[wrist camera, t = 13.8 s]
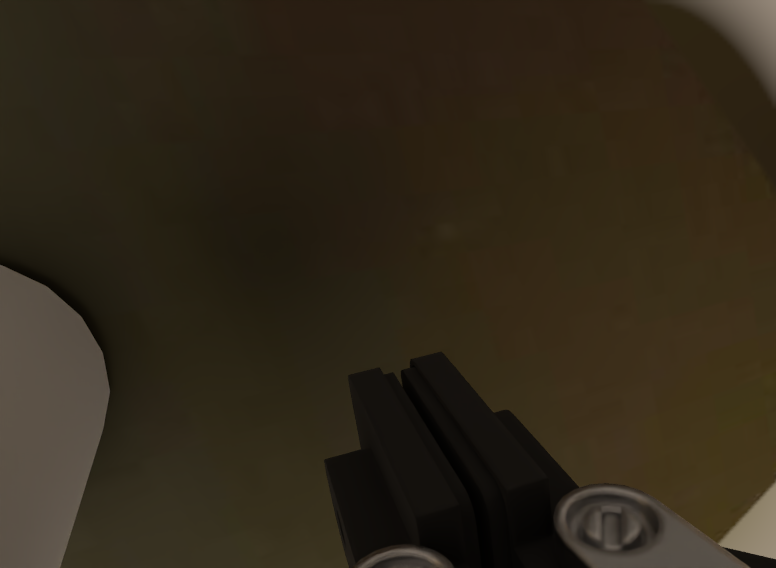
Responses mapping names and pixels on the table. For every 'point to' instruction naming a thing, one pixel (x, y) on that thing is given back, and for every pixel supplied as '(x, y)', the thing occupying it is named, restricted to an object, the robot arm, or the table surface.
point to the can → (44, 420)
